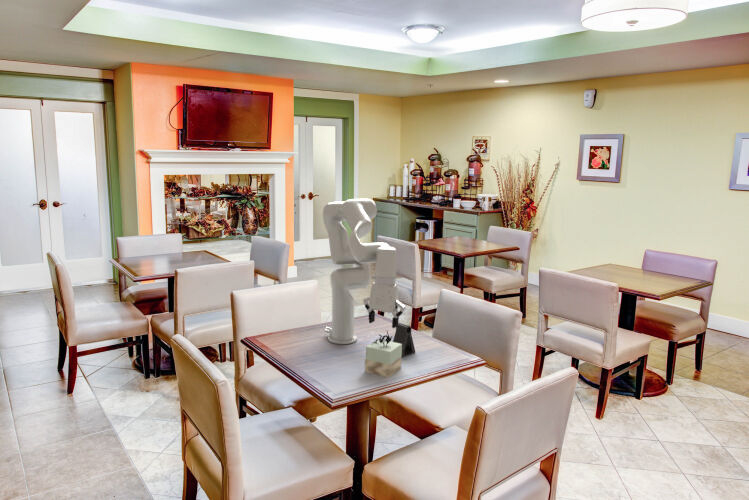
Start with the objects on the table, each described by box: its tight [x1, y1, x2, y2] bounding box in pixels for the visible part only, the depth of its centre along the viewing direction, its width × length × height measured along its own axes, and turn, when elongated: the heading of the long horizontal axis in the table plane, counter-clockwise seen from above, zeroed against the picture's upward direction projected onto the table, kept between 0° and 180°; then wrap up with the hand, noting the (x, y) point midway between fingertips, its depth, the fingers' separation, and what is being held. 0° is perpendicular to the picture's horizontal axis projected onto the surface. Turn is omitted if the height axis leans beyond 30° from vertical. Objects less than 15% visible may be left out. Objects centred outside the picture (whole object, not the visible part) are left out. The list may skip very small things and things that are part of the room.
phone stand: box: [392, 322, 416, 358], centre depth 221 cm, size 9×6×12 cm, turn 133°
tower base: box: [364, 357, 402, 378], centre depth 204 cm, size 10×10×5 cm
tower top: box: [365, 338, 402, 365], centre depth 204 cm, size 10×10×5 cm
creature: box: [370, 330, 393, 349], centre depth 202 cm, size 8×5×8 cm
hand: (383, 324), depth 202 cm, fingers open, 9 cm apart
